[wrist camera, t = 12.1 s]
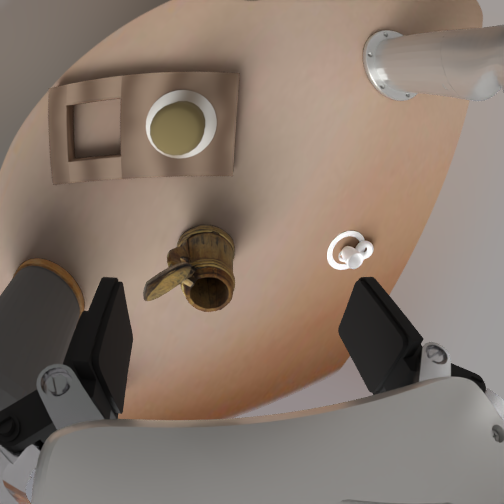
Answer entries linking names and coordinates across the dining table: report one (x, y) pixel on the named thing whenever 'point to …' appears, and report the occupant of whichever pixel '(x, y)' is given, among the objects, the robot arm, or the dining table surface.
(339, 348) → the dining table surface
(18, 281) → the decorative piece
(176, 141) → the cork
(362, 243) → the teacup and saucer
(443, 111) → the dining table surface
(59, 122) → the caddy board
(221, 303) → the wooden mug
